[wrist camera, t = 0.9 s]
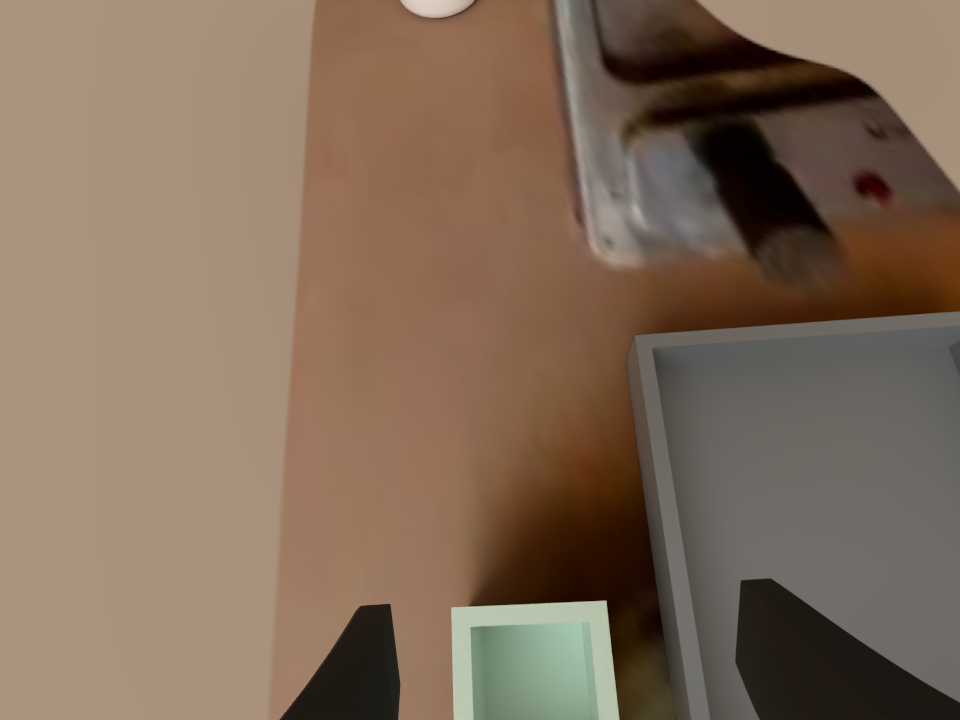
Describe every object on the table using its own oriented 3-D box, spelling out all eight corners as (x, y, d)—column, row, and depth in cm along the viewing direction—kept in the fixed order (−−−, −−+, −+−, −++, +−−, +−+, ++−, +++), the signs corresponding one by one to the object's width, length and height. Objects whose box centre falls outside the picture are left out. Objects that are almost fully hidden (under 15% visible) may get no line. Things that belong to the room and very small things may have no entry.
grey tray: (1128, 841, 20) (1220, 878, 18) (692, 848, 21) (715, 884, 19) (950, 339, 27) (997, 308, 24) (625, 362, 28) (635, 335, 25)
